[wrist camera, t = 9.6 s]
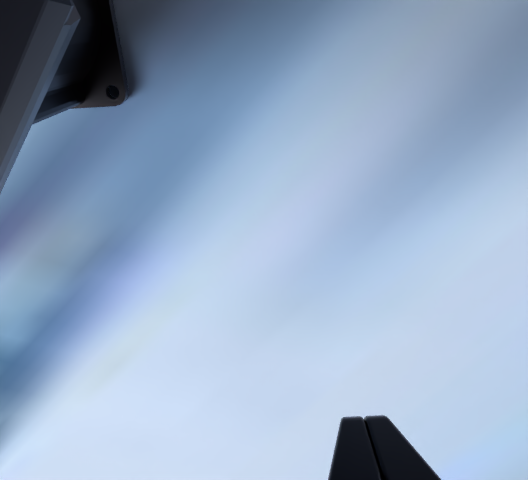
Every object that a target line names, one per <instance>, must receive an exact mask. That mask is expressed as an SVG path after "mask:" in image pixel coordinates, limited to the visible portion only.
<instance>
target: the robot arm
mask: <svg viewBox="0 0 528 480" xmlns="http://www.w3.org/2000/svg"><path fill="white" fill-rule="evenodd" d="M111 85H113V86H115V87H117V88H118V90H119V96H118V98H115V97H113V96H111V95H110V93H109V87H110V86H111ZM127 98H128V85H127V79H126V74H125V68H124V63H123V57H122V51H121V46H120V40H119V35H118V29H117V24H116V18H115V13H114V7H113V2H112V0H0V193H1V191H2V189H3V187H4V185H5V182H6V180H7V178H8V176H9V174H10V171H11V169H12V167H13V165H14V163H15V160H16V158H17V156H18V154H19V152H20V150H21V147H22V145H23V143H24V141H25V139H26V136H27V134H28V132H29V130H30V128H31V125H32V124H34V123H37V122H39V121H42V120H44V119H46V118H49V117H51V116H54V115H56V114H58V113H61V112H63V111H66V110H68V109H72V108H89V107H106V106H117V105H120V104H122V103H123V102H125V101H126V100H127ZM328 480H441V479H440V478H439V477H438V475H437V474H436V473H435V472H434V471H433V470H432V468H431V467H430V466H429V465H428V464H427V463H426V461H425V460H424V459H423V458H422V457H421V456H420V454H419V453H418V452H417V451H416V450H415V449H414V447H413V446H412V445H411V444H410V443H409V442H408V440H407V439H406V438H405V437H404V436H403V435H402V434H401V432H400V431H399V430H398V429H397V428H396V427H395V425H394V424H393V423H392V422H391V421H390V420H389V418H387V417H386V416H383V415H379V416H366V417H365V418H364V419H363V418H362V417H360V416H357V417H343V418H342V419H341V422H340V426H339V431H338V436H337V440H336V445H335V450H334V454H333V459H332V464H331V469H330V473H329V478H328Z"/></svg>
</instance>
